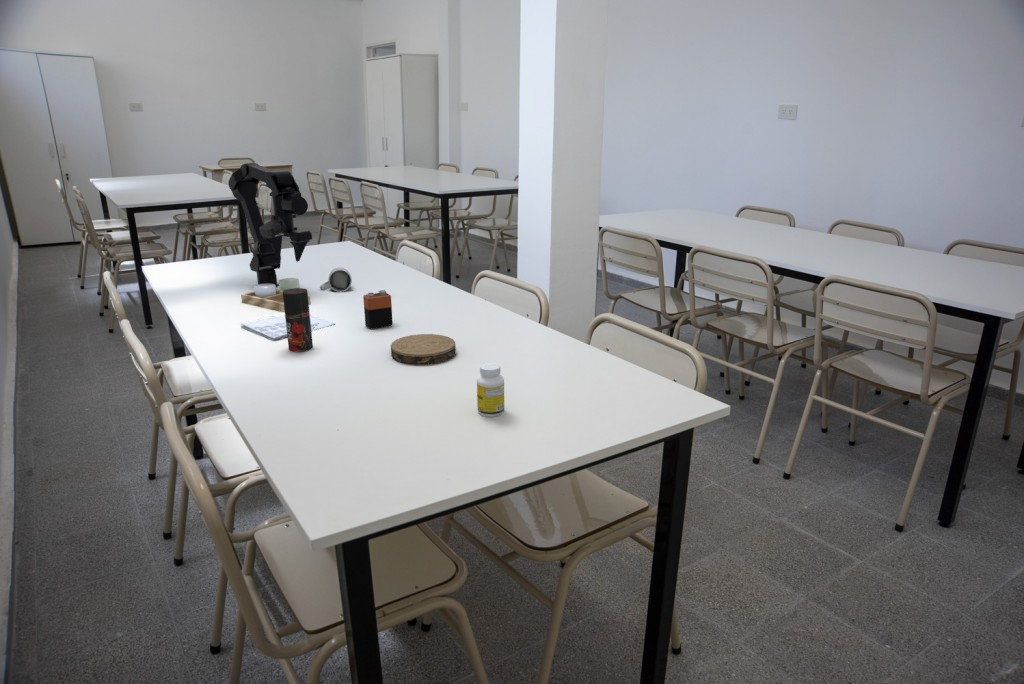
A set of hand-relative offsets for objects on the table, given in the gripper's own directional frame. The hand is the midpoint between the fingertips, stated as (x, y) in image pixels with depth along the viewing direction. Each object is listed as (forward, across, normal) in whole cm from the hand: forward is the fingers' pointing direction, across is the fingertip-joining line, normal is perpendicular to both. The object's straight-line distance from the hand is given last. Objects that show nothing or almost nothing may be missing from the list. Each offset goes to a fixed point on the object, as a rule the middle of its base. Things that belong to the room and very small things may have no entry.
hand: (287, 259), depth 218 cm
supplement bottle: (+9, +108, -45) cm, 117 cm away
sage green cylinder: (+12, 0, 0) cm, 12 cm away
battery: (+11, +49, -12) cm, 52 cm away
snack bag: (+12, +28, -25) cm, 39 cm away
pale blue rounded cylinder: (+11, +2, -11) cm, 16 cm away
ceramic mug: (+12, +8, +13) cm, 19 cm away
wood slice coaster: (+10, +75, -24) cm, 79 cm away
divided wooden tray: (+12, +6, -12) cm, 18 cm away
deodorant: (+11, +45, -37) cm, 59 cm away
